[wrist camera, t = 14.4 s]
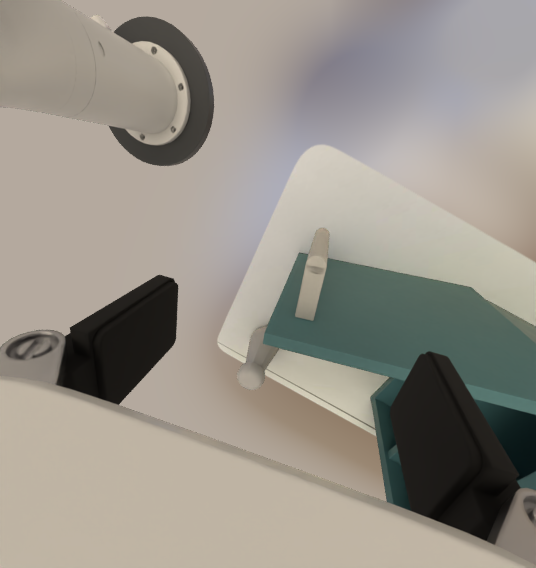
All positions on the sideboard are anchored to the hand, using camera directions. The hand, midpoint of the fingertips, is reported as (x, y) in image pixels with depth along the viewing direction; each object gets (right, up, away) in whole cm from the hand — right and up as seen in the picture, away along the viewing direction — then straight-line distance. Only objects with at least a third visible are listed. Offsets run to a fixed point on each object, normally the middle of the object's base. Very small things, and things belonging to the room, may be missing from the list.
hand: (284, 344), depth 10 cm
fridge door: (+18, +7, +31) cm, 36 cm away
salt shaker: (-1, -8, +42) cm, 43 cm away
